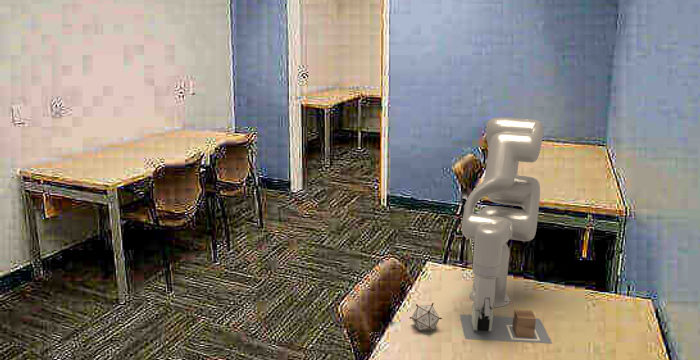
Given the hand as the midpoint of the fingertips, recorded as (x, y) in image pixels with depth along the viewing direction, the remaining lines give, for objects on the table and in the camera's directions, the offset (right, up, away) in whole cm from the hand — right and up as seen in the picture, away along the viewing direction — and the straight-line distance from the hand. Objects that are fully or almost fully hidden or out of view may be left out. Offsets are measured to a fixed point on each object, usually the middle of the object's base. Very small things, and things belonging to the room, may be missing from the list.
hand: (481, 324), depth 167 cm
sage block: (0, 0, 0) cm, 0 cm away
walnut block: (+12, -2, -1) cm, 12 cm away
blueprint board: (+7, -2, +1) cm, 7 cm away
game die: (-16, -2, +1) cm, 17 cm away
